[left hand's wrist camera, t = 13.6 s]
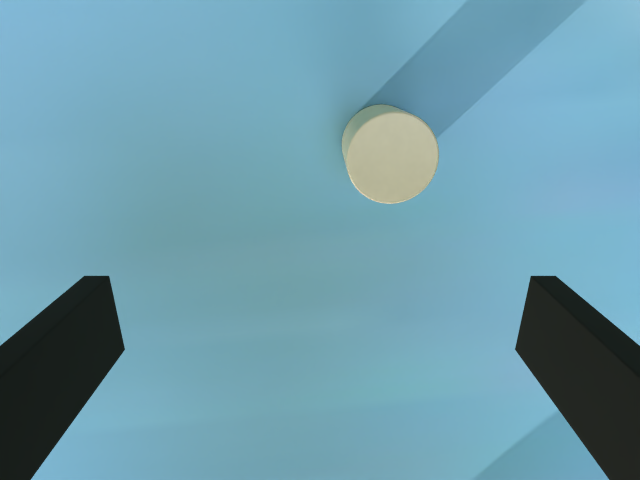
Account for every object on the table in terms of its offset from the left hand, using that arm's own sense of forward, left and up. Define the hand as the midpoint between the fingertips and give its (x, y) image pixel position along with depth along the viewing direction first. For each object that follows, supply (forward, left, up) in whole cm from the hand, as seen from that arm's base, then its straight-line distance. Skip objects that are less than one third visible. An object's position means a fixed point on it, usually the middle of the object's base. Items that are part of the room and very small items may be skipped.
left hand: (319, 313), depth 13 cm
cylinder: (+3, -4, -9) cm, 10 cm away
